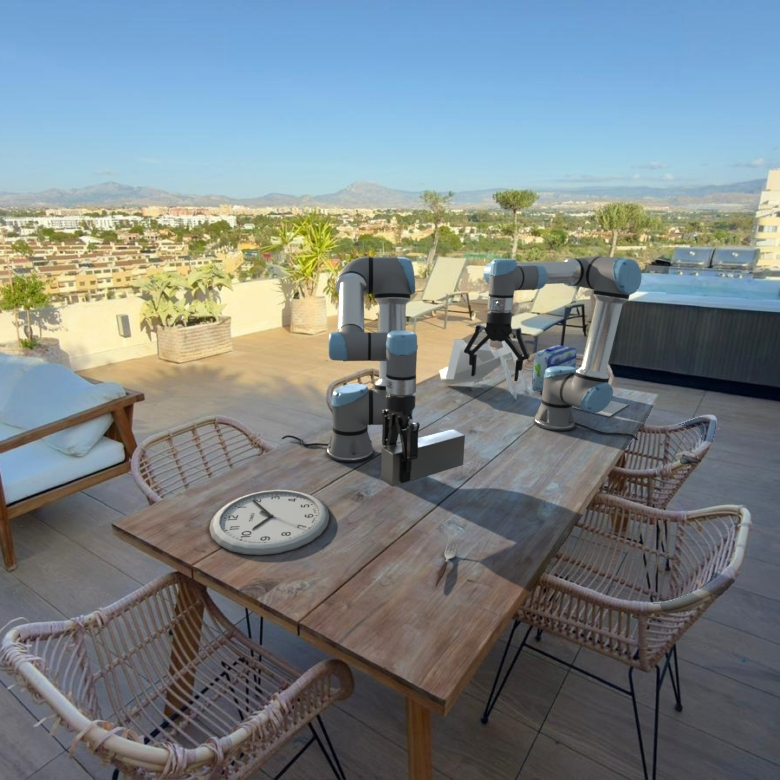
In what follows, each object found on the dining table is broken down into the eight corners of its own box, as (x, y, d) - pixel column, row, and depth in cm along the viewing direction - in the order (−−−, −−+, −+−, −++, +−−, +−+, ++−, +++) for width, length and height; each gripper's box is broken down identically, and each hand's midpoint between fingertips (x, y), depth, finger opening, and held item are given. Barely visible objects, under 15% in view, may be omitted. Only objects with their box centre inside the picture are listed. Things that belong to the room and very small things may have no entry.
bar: (451, 458, 151) (452, 429, 149) (463, 465, 147) (465, 435, 145) (381, 479, 138) (381, 447, 136) (392, 487, 134) (392, 454, 131)
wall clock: (327, 546, 121) (194, 551, 119) (327, 552, 122) (195, 557, 119) (330, 485, 150) (223, 488, 147) (330, 490, 150) (224, 493, 148)
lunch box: (548, 398, 236) (553, 353, 229) (527, 393, 243) (531, 349, 237) (575, 387, 253) (581, 344, 247) (555, 382, 260) (560, 341, 254)
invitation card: (608, 416, 214) (573, 407, 224) (608, 416, 214) (573, 408, 224) (628, 404, 229) (594, 396, 238) (628, 405, 229) (594, 397, 238)
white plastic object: (461, 429, 252) (437, 405, 227) (444, 352, 274) (420, 323, 250) (535, 404, 240) (518, 377, 215) (510, 326, 262) (492, 293, 237)
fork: (429, 586, 111) (429, 578, 110) (447, 545, 125) (448, 538, 125) (441, 589, 110) (441, 581, 109) (458, 548, 124) (459, 541, 124)
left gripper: (368, 386, 136) (368, 467, 143) (410, 405, 122) (407, 494, 129) (392, 382, 141) (390, 461, 147) (435, 400, 126) (431, 487, 133)
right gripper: (456, 309, 161) (453, 375, 167) (540, 315, 152) (533, 385, 158) (462, 306, 168) (459, 370, 174) (543, 312, 159) (536, 379, 165)
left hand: (398, 476), depth 138 cm, fingers closed on bar, 5 cm apart
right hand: (494, 377), depth 166 cm, fingers open, 13 cm apart
